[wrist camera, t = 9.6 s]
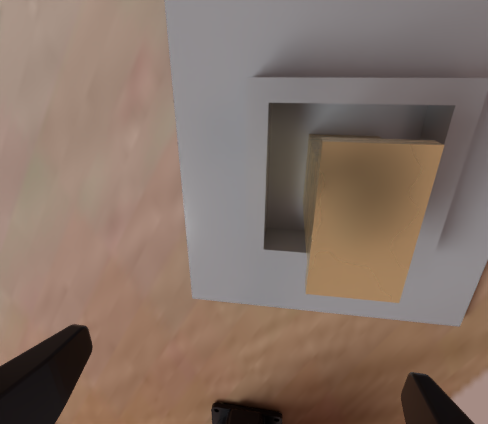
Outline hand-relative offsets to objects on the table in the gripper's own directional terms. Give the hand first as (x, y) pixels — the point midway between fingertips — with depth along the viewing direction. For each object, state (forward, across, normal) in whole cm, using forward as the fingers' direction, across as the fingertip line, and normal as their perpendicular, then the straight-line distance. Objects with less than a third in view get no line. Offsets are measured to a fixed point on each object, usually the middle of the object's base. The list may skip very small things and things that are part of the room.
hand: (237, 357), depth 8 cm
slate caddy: (+11, -4, -2) cm, 12 cm away
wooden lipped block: (+10, -4, -2) cm, 11 cm away
